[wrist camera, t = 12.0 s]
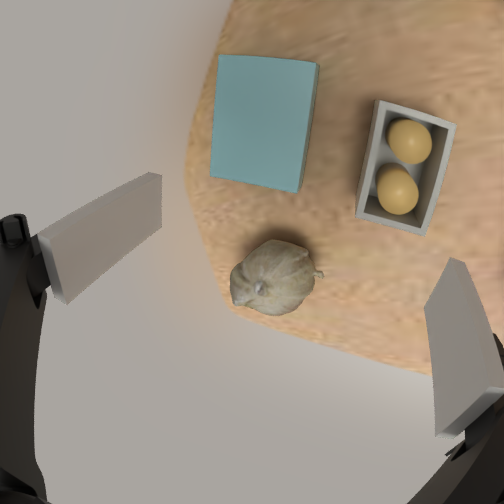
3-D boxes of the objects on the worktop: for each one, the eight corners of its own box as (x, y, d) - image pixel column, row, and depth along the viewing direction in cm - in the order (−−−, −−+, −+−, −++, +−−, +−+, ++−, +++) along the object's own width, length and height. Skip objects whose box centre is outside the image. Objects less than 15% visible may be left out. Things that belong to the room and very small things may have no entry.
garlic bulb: (260, 263, 40) (208, 309, 34) (266, 208, 35) (204, 252, 29) (323, 298, 36) (277, 355, 30) (341, 244, 31) (289, 303, 25)
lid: (229, 57, 27) (218, 54, 25) (319, 65, 25) (316, 62, 23) (220, 169, 33) (209, 176, 31) (301, 185, 31) (296, 193, 29)
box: (375, 99, 25) (379, 100, 20) (438, 118, 23) (456, 124, 18) (355, 195, 30) (354, 217, 25) (414, 211, 28) (424, 236, 23)
